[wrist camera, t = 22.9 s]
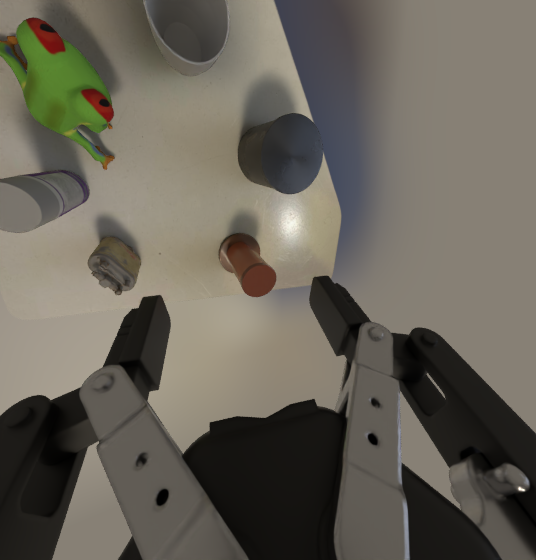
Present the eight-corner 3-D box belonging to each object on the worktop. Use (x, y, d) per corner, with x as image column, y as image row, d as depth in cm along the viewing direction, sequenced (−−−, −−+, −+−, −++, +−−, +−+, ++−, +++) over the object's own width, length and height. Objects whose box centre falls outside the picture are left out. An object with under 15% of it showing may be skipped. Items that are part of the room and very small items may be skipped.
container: (51, 202, 31) (-22, 232, 19) (43, 166, 29) (-44, 174, 17) (92, 207, 33) (49, 236, 21) (86, 173, 31) (36, 185, 19)
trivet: (224, 228, 42) (225, 229, 42) (264, 238, 47) (265, 239, 46) (214, 269, 46) (215, 270, 45) (252, 274, 50) (253, 276, 49)
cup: (209, 97, 32) (223, 78, 24) (148, 73, 29) (141, 41, 21) (216, 24, 29) (235, -26, 21) (148, -14, 25) (139, -92, 17)
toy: (149, 142, 32) (144, 138, 24) (98, 175, 32) (75, 182, 24) (49, 4, 23) (-11, -74, 15) (-23, 46, 23) (-124, -13, 15)
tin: (245, 113, 35) (275, 97, 25) (293, 138, 40) (333, 133, 30) (230, 175, 38) (251, 181, 29) (275, 191, 43) (307, 202, 33)
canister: (230, 238, 43) (248, 262, 33) (257, 244, 46) (281, 267, 36) (222, 266, 45) (237, 295, 36) (249, 270, 48) (269, 298, 39)
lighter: (94, 243, 35) (74, 269, 27) (114, 231, 36) (99, 252, 28) (129, 273, 40) (120, 303, 32) (147, 262, 40) (142, 288, 32)
